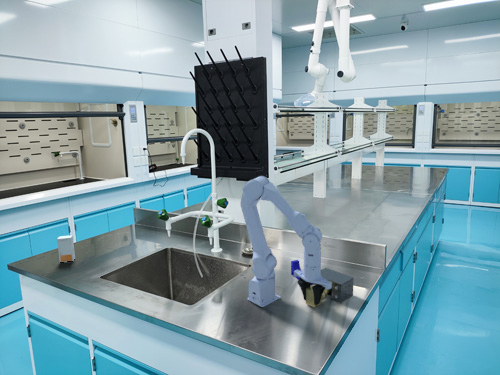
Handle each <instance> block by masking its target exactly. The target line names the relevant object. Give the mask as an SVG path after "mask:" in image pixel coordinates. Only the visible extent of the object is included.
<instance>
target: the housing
mask: <svg viewBox="0 0 500 375" xmlns="http://www.w3.org/2000/svg"><path fill="white" fill-rule="evenodd" d="M321 276H322V277H323V278H325V279H326V280H328V281H330V282H332V291H331V292H330V293H328V294H326V295H325V298H326V299H330V300H332V301H335V302H336V303H339V304H342V303H343V302H345V301H347V300H348V299H350V298H351V297H353V296H354V280H355V279H354V278H355V277H353V276H352V275H348V274H345V273H343V272H339V271H336V270H333V269H330V268H329V267H328V268H327V267H324V268H321ZM313 285H316V284H315V283H313Z"/></svg>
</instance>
